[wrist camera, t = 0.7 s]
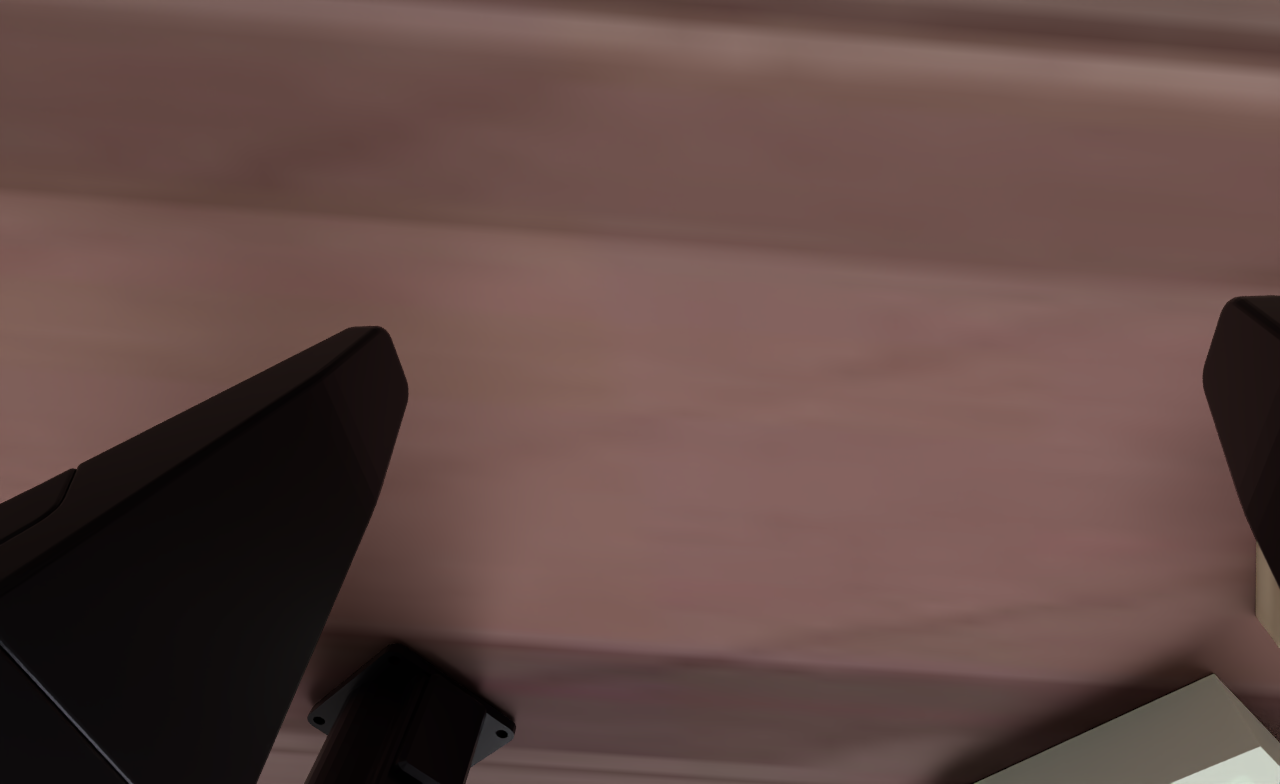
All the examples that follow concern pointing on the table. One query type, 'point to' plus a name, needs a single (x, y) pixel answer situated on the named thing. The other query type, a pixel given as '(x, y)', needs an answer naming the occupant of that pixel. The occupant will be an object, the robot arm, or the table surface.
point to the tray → (1163, 746)
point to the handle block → (1267, 597)
